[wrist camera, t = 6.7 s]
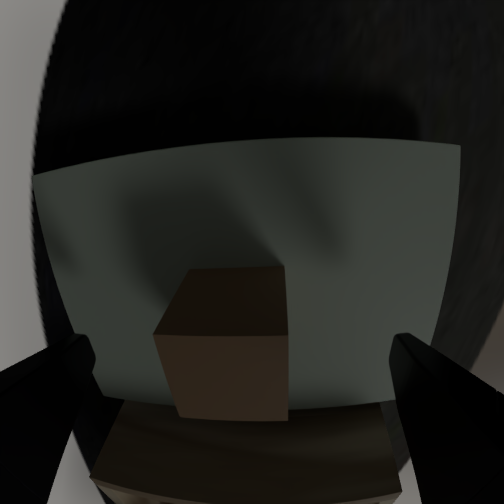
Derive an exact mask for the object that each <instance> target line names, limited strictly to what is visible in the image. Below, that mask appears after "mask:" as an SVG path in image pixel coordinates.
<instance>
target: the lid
mask: <svg viewBox="0 0 504 504" xmlns="http://www.w3.org/2000/svg"><path fill="white" fill-rule="evenodd" d="M459 177H460V145H454V144H448V143H440V142H430V141H418V140H405V139H389V138H365V137H294V138H269V139H252V140H238V141H226V142H215V143H205V144H196V145H188V146H180V147H172V148H165V149H158V150H151V151H145V152H138V153H132V154H127V155H121V156H116V157H110V158H105V159H100V160H95V161H90V162H86V163H81V164H77V165H72V166H68V167H64V168H59V169H55V170H51V171H48V172H44V173H41V174H38V175H34V176H32V182H33V188H34V194H35V199H36V204H37V209H38V214H39V219H40V223H41V228H42V232H43V236H44V240H45V244H46V248H47V252H48V255H49V259H50V262H51V266H52V269H53V273H54V276H55V279H56V282H57V285H58V288H59V291H60V294H61V297H62V300H63V303H64V306H65V309H66V311H67V314H68V317H69V319H70V322H71V325H72V327H73V330H74V332H75V333H79V334H85V335H87V336H88V338H89V340H90V343H91V345H92V348H93V350H94V352H95V355H96V362H95V366H94V369H93V372H92V373H93V375H94V377H95V380H96V382H97V384H98V386H99V388H100V390H101V392H102V393H103V395H104V396H107V397H113V398H119V399H125V400H131V401H138V402H145V403H153V404H161V405H170V406H176V408H177V411H178V413H179V416H180V417H184V418H195V419H209V420H227V421H288V410H292V409H312V408H326V407H338V406H348V405H357V404H366V403H373V402H381V401H387V400H394V399H395V393H394V388H393V383H392V377H391V372H390V368H389V354H390V350H391V345H392V341H393V337H394V335H395V334H397V333H406V332H408V333H410V334H412V335H414V336H415V337H417V338H418V339H420V340H421V341H423V342H424V343H426V344H428V345H429V346H430V344H431V340H432V337H433V333H434V330H435V326H436V322H437V319H438V315H439V311H440V307H441V302H442V298H443V294H444V289H445V285H446V280H447V275H448V269H449V264H450V258H451V252H452V246H453V239H454V232H455V224H456V215H457V205H458V193H459Z"/></svg>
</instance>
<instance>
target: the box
mask: <svg viewBox="0 0 504 504" xmlns="http://www.w3.org/2000/svg"><path fill="white" fill-rule="evenodd" d="M89 477H90V479H91V480H92V481H93V482H94V483H95V484H96V485H97V486H98V487H99V488H100V489H101V490H102V491H103V492H104V493H105V494H106V495H107V496H108V497H109V498H111V499H112V500H113V501H114V502H115V503H116V504H393V502H394V501H395V500H396V499H397V498H398V497H399V495H400V494H401V493H402V488H401V483H400V480H399V475H398V471H397V467H396V462H395V459H394V455H393V451H392V447H391V443H390V439H389V436H388V432H387V428H386V425H385V421H384V418H383V414H382V411H381V407H380V404H379V402H373V403H366V404H357V405H348V406H338V407H326V408H312V409H292V410H288V421H227V420H209V419H195V418H184V417H180V416H179V413H178V411H177V408H176V406H170V405H161V404H153V403H145V402H138V401H131V400H125V401H124V403H123V405H122V407H121V409H120V411H119V413H118V416H117V418H116V420H115V422H114V424H113V426H112V428H111V430H110V432H109V434H108V437H107V439H106V441H105V443H104V445H103V447H102V450H101V452H100V454H99V456H98V458H97V461H96V463H95V465H94V467H93V469H92V472H91V474H90V476H89Z"/></svg>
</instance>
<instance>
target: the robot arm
mask: <svg viewBox="0 0 504 504" xmlns="http://www.w3.org/2000/svg"><path fill="white" fill-rule="evenodd" d="M95 362H96V355H95V352H94V350H93V348H92V345H91V343H90V340H89V338H88V336H87V335H85V334H79V333H75V334H72V335H71V336H69V337H67V338H65V339H63V340H61V341H59V342H57V343H55V344H53V345H51V346H49V347H47V348H45V349H43V350H41V351H39V352H37V353H36V354H34V355H32V356H30V357H28V358H26V359H24V360H22V361H20V362H18V363H16V364H14V365H12V366H10V367H9V368H6V369H5V370H3V371H1V372H0V504H47V502H48V498H49V495H50V492H51V489H52V485H53V482H54V479H55V476H56V473H57V470H58V467H59V464H60V461H61V458H62V456H63V453H64V450H65V447H66V445H67V442H68V439H69V436H70V434H71V431H72V429H73V426H74V423H75V421H76V418H77V416H78V413H79V411H80V408H81V406H82V403H83V401H84V398H85V394H86V391H87V388H88V385H89V381H90V378H91V375H92V372H93V369H94V366H95ZM389 368H390V372H391V377H392V383H393V388H394V393H395V399H396V404H397V409H398V413H399V417H400V420H401V423H402V427H403V430H404V434H405V437H406V441H407V445H408V448H409V452H410V456H411V460H412V464H413V468H414V472H415V475H416V480H417V484H418V489H419V493H420V497H421V502H422V504H504V395H503V394H502V393H501V392H499V391H496V389H494V388H493V387H491V386H490V385H488V384H487V383H485V382H484V381H482V380H481V379H479V378H478V377H476V376H475V375H473V374H472V373H470V372H469V371H467V370H466V369H464V368H463V367H461V366H460V365H458V364H457V363H455V362H454V361H452V360H451V359H449V358H447V357H446V356H444V355H443V354H441V353H440V352H438V351H437V350H435V349H434V348H432V347H431V346H429V345H428V344H426V343H424V342H423V341H421V340H420V339H418V338H417V337H415V336H414V335H412V334H410V333H408V332H406V333H397V334H395V335H394V337H393V341H392V345H391V350H390V354H389Z"/></svg>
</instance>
